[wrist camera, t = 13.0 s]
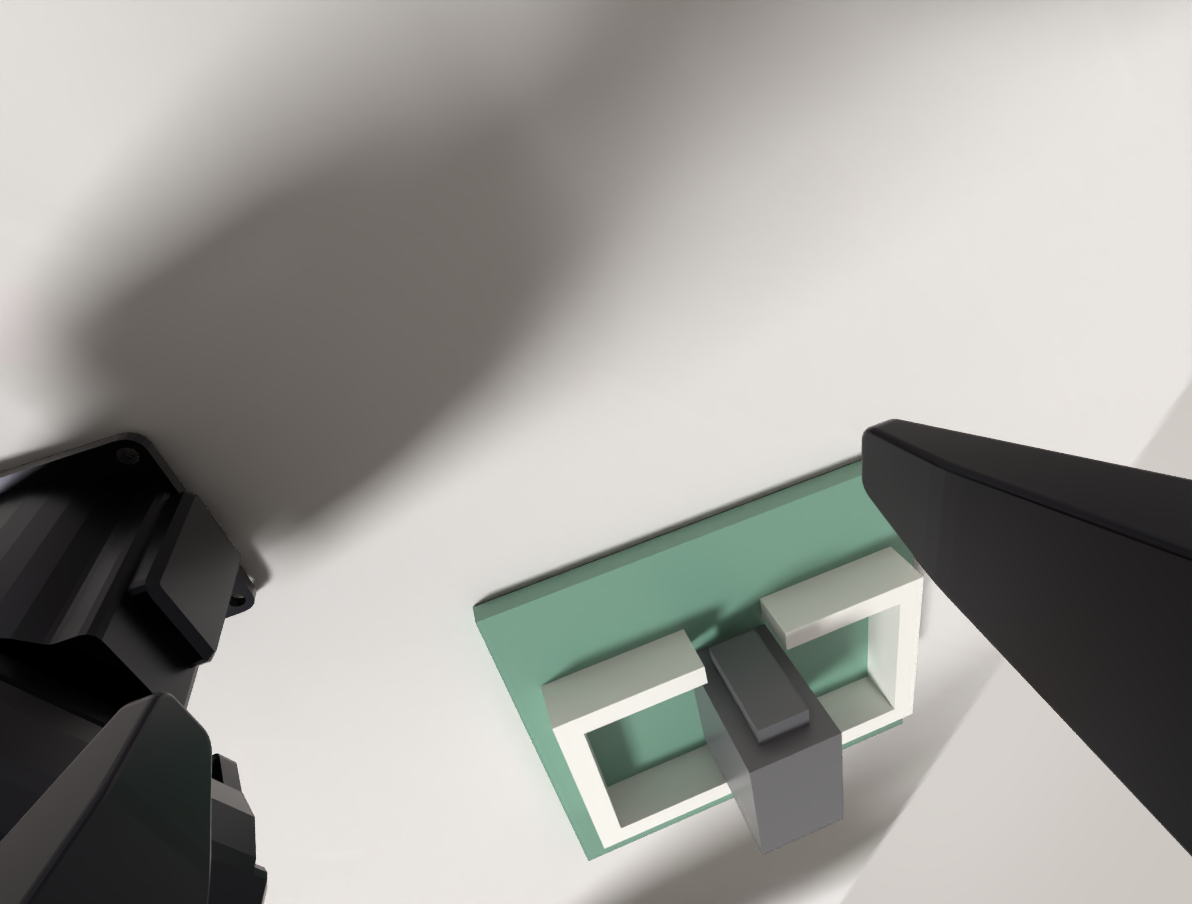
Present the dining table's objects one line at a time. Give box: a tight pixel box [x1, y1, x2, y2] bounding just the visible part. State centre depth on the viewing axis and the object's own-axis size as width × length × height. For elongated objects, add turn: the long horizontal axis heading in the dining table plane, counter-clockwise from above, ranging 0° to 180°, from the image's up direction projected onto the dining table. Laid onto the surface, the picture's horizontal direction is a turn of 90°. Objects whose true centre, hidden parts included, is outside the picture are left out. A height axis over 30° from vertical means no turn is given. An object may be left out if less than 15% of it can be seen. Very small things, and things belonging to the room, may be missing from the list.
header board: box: [473, 460, 924, 861], centre depth 29 cm, size 18×18×3 cm
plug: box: [694, 624, 843, 855], centre depth 27 cm, size 4×7×6 cm, turn 13°
